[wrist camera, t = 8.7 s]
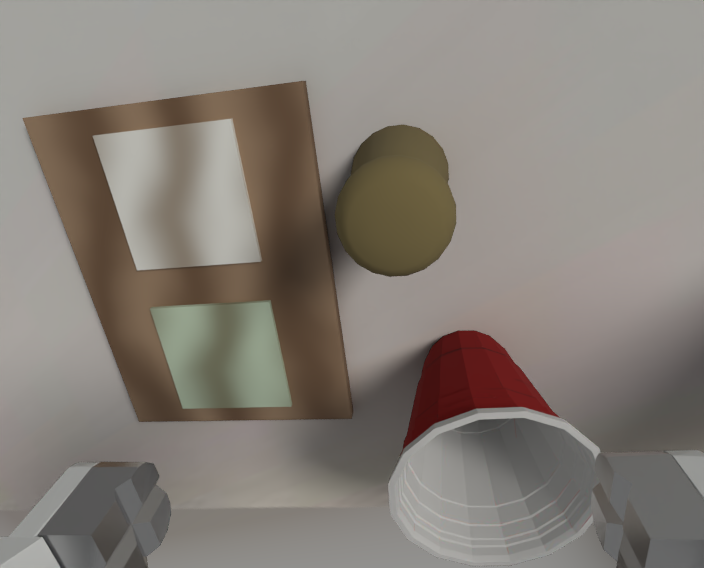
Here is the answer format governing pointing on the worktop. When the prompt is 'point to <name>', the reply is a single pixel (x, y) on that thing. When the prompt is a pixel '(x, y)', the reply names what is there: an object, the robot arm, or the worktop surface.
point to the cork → (396, 203)
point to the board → (205, 251)
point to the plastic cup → (488, 461)
